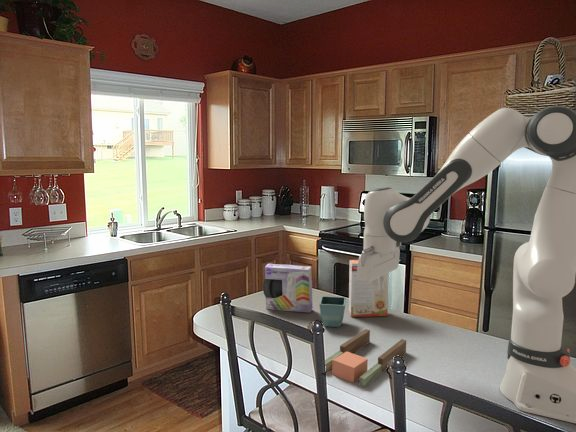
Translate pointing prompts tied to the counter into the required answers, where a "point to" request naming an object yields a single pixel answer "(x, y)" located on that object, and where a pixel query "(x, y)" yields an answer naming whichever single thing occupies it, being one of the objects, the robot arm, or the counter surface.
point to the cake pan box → (288, 287)
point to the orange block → (349, 366)
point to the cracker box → (366, 296)
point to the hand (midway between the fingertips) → (378, 290)
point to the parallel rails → (381, 366)
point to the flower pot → (332, 310)
